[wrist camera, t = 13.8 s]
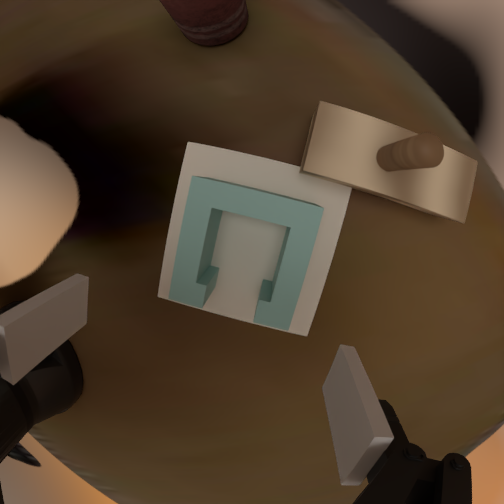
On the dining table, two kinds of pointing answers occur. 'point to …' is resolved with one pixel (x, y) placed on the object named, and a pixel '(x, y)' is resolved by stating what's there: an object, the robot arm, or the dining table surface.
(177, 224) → the felt mat
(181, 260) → the c link
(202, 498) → the dining table surface
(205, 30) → the can
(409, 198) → the hook stand
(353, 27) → the dining table surface
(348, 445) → the robot arm
